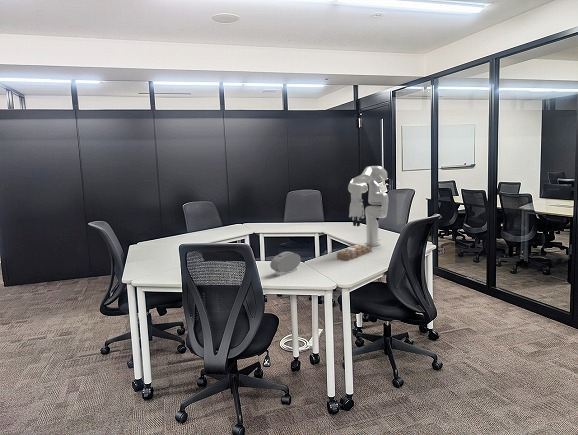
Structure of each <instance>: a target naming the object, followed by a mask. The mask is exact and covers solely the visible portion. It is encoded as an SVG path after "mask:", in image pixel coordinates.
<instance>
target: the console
mask: <svg viewBox="0 0 578 435" xmlns="http://www.w3.org/2000/svg"><path fill="white" fill-rule="evenodd" d="M372 247H373V246H367V247H365V248H362V249H360V250H356V251H354V252H347V251H346V249H345V250H342V251H339V252H337V253H336V258H337V260H345V261H351V260H354V259H356V258H359V257H362V256H365V255H368V254H370V253H371V252H372Z"/></svg>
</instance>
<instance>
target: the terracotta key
mask: <svg viewBox="0 0 578 435" xmlns="http://www.w3.org/2000/svg"><path fill="white" fill-rule="evenodd" d="M351 248H356V250H360V249H362V246H358V245H353V246H352V247H351Z"/></svg>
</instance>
